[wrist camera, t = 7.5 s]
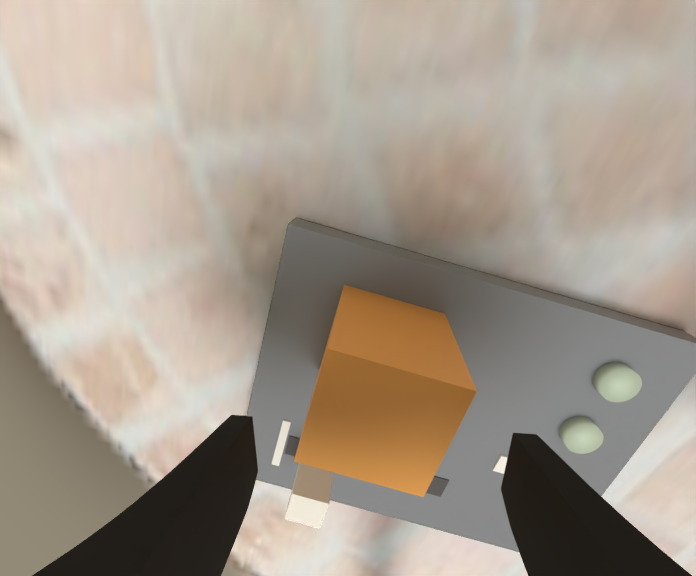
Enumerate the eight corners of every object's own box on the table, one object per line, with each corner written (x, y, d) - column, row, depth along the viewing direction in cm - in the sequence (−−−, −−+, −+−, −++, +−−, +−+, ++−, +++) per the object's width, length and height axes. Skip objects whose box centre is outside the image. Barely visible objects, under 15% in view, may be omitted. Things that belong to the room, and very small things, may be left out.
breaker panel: (685, 331, 16) (727, 356, 14) (540, 533, 21) (556, 572, 19) (296, 217, 16) (284, 226, 14) (244, 451, 21) (229, 483, 19)
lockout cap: (445, 313, 15) (476, 390, 10) (410, 396, 17) (423, 497, 12) (343, 284, 15) (327, 348, 10) (319, 370, 16) (294, 461, 12)
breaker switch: (336, 448, 18) (329, 503, 15) (329, 471, 18) (319, 528, 15) (306, 439, 18) (292, 493, 15) (298, 463, 18) (284, 519, 15)
